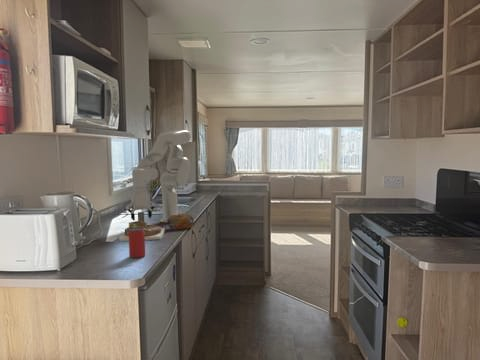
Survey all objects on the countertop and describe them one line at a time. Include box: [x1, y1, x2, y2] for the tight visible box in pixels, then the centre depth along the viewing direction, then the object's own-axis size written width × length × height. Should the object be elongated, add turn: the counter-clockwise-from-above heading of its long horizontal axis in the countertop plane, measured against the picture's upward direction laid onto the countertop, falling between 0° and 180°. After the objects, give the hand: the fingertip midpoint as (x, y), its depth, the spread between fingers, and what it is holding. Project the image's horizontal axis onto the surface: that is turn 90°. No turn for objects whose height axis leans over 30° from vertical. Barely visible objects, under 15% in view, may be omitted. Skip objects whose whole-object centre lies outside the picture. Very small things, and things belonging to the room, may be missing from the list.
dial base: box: [118, 227, 166, 242], centre depth 192 cm, size 21×21×2 cm
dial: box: [124, 220, 162, 236], centre depth 192 cm, size 19×19×4 cm
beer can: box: [128, 228, 146, 259], centre depth 153 cm, size 7×7×12 cm
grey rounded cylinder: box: [137, 211, 145, 222], centre depth 208 cm, size 4×4×10 cm
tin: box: [167, 213, 194, 230], centre depth 209 cm, size 15×3×8 cm, turn 105°
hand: (141, 218), depth 209 cm, fingers open, 9 cm apart
